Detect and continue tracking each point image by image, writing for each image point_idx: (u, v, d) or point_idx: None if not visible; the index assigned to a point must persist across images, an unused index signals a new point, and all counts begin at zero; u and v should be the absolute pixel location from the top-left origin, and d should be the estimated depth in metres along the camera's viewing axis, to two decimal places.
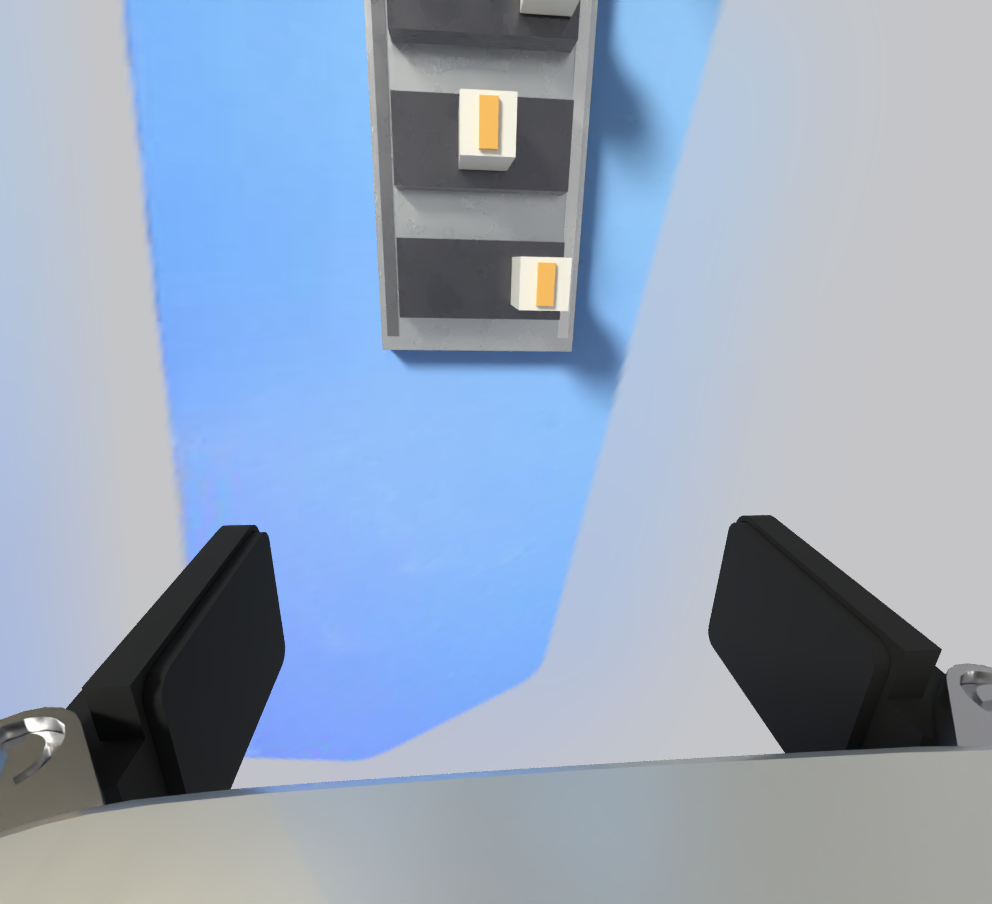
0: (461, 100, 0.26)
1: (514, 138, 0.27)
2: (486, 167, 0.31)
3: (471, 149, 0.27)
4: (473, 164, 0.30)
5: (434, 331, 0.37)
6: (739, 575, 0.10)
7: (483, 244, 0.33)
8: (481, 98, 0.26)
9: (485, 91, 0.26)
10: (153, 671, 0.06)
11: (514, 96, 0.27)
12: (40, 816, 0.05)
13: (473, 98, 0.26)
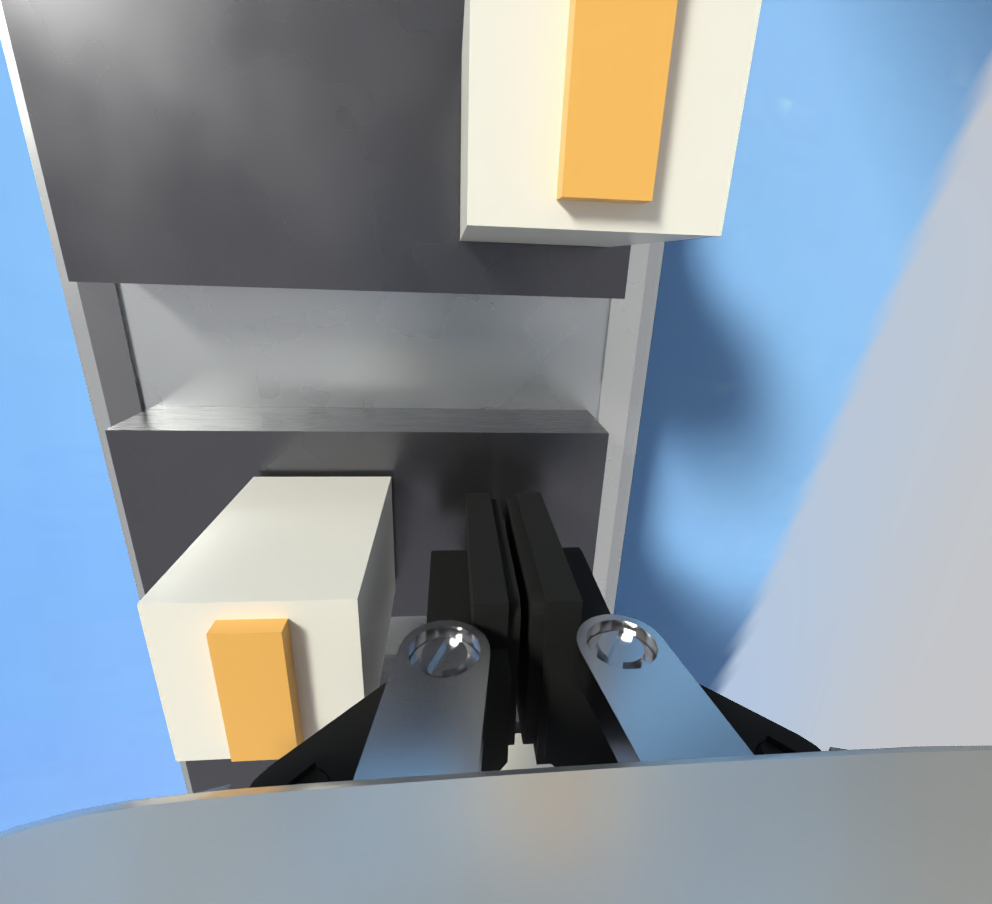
0: (150, 634, 0.07)
1: None
2: None
3: (214, 746, 0.08)
4: None
5: None
6: None
7: None
8: (215, 645, 0.07)
9: (239, 607, 0.07)
10: (509, 596, 0.08)
11: (347, 611, 0.07)
12: (446, 714, 0.06)
13: (195, 626, 0.07)
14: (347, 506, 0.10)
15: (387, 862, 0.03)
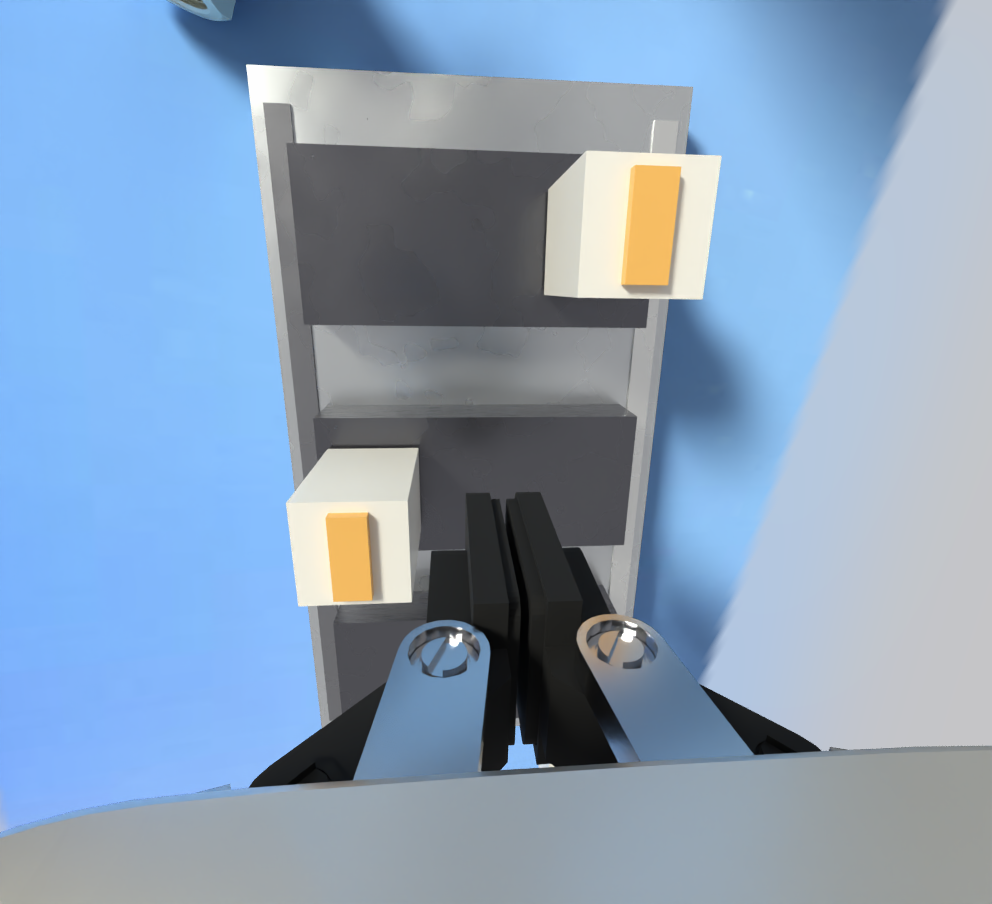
0: (291, 522, 0.13)
1: (407, 574, 0.14)
2: None
3: (321, 596, 0.14)
4: None
5: None
6: None
7: None
8: (330, 524, 0.13)
9: (341, 505, 0.13)
10: (509, 596, 0.08)
11: (401, 508, 0.13)
12: (446, 714, 0.06)
13: (316, 517, 0.13)
14: (393, 462, 0.16)
15: (387, 862, 0.03)
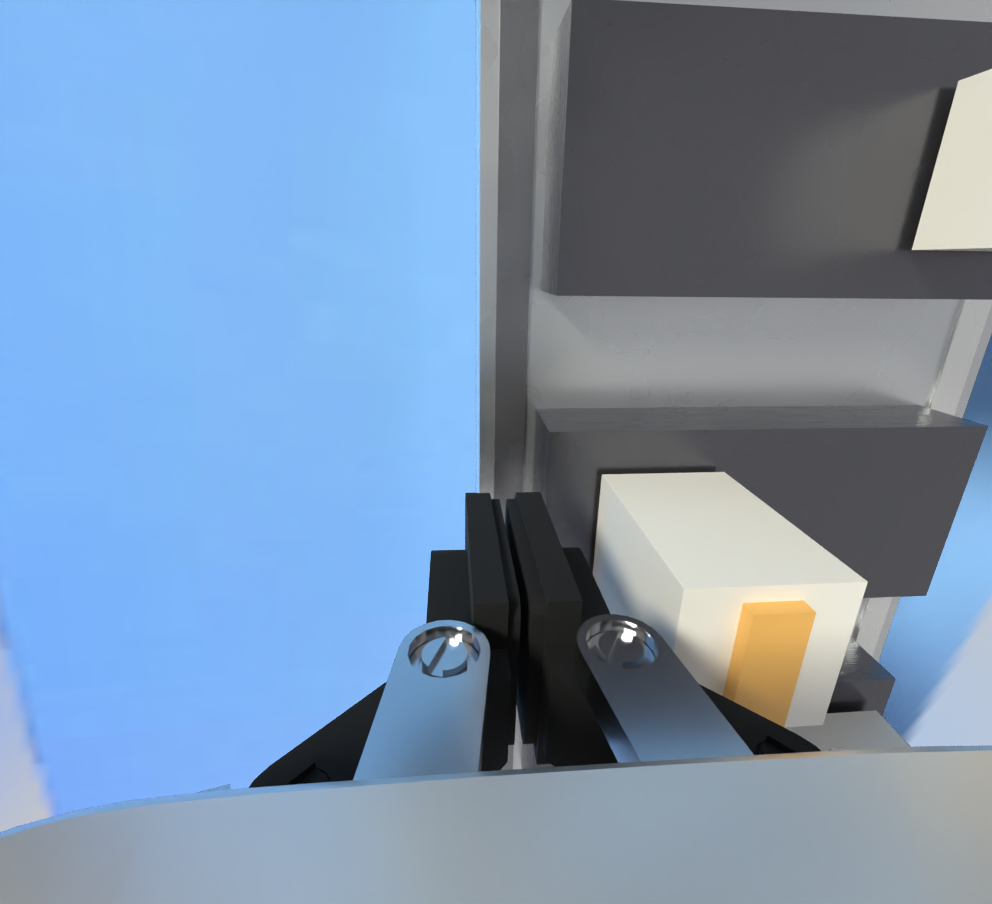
0: (684, 617, 0.08)
1: (829, 686, 0.09)
2: None
3: None
4: None
5: None
6: None
7: None
8: (758, 625, 0.08)
9: (767, 591, 0.08)
10: (509, 596, 0.08)
11: (854, 593, 0.08)
12: (446, 714, 0.06)
13: (723, 609, 0.08)
14: (728, 499, 0.11)
15: (388, 862, 0.03)
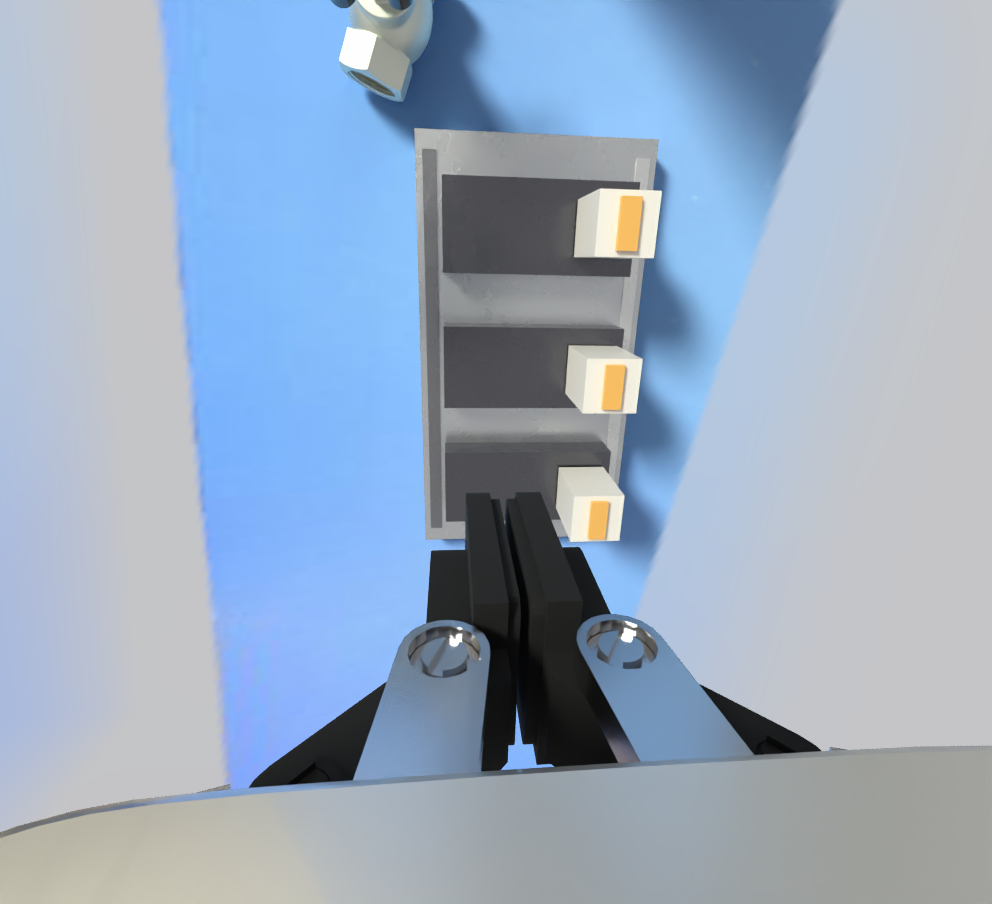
0: (588, 368, 0.27)
1: (636, 397, 0.28)
2: None
3: (594, 408, 0.28)
4: None
5: None
6: None
7: (530, 456, 0.34)
8: (608, 368, 0.27)
9: (612, 360, 0.27)
10: (509, 596, 0.08)
11: (639, 362, 0.27)
12: (445, 714, 0.06)
13: (599, 366, 0.27)
14: (613, 349, 0.30)
15: (387, 862, 0.03)
